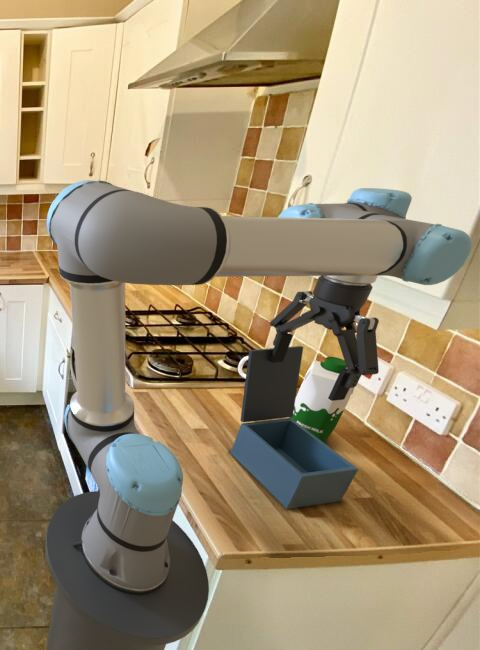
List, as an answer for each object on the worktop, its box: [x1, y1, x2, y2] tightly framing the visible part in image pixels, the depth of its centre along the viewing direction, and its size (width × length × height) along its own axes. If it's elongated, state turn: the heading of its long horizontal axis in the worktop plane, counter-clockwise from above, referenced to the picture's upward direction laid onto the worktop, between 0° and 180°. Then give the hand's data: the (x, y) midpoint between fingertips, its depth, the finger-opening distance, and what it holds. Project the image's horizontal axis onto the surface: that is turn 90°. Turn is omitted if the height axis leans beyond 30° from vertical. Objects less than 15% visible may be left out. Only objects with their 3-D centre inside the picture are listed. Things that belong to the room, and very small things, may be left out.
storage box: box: [230, 417, 359, 510], centre depth 88 cm, size 16×13×9 cm
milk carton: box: [289, 356, 355, 444], centre depth 98 cm, size 9×9×20 cm
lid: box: [240, 345, 304, 423], centre depth 91 cm, size 17×13×1 cm
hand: (303, 378), depth 83 cm, fingers open, 13 cm apart
